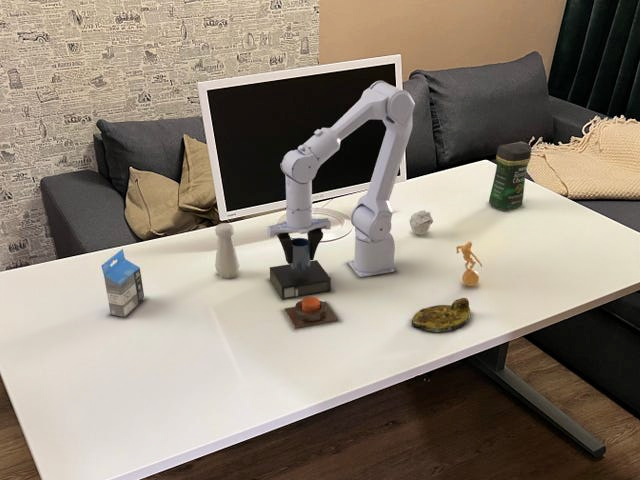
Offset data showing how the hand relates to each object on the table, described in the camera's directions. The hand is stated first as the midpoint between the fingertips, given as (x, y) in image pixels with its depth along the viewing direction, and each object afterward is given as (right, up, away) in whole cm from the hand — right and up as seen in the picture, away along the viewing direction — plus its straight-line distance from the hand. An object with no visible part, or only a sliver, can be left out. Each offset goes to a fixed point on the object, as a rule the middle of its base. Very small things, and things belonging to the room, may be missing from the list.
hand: (299, 260), depth 171 cm
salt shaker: (-18, -3, +8) cm, 20 cm away
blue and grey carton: (-39, -12, -5) cm, 41 cm away
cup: (0, -1, +1) cm, 1 cm away
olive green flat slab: (+32, -15, -8) cm, 36 cm away
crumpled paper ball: (+32, +11, +29) cm, 44 cm away
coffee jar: (+59, +22, +46) cm, 78 cm away
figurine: (+40, -6, +5) cm, 41 cm away
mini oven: (0, -6, +4) cm, 7 cm away
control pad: (+3, -14, -7) cm, 16 cm away
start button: (+3, -12, -9) cm, 15 cm away
